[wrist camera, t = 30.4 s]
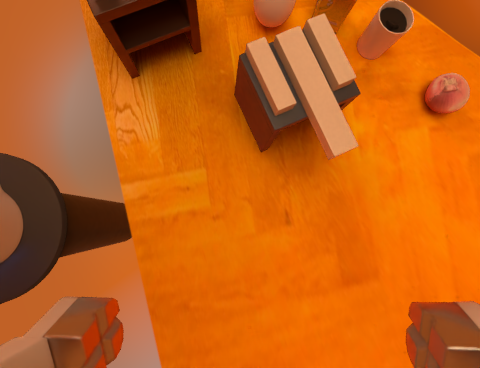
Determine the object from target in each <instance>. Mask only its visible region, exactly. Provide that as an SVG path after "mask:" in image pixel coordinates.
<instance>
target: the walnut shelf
mask: <svg viewBox="0 0 480 368" xmlns="http://www.w3.org/2000/svg"><path fill="white" fill-rule="evenodd" d="M87 2H88V4H89V6H90V8H91V11H92V13H93V15H94V17H95V19H96V20H97V22H98V24H99V25H100V27H101V29H102V30H103V32H104V33H105V35H106V37H107V38H108V40H109V42H110V43H111V45H112V46H113V48H114V50H115V51H116V53H117V55H118V56H119V58H120V59H121V61H122V63H123V64H124V66H125V68H126V69H127V71H128V72H129V74H130V76H131V77H132V79H133V78H135V77H138V76H140V75H139V73H138V70H137V68H136V66H135V64H134V61H133V59H132V57H131V55H130V53H131V52H134V51H137V50H139V49H142V48H144V47H147V46H150V45H152V44H155V43H157V42H160V41H163V40H165V39H168V38H171V37H173V36H176V35H178V34H181V33H185V35H186V37H187V39H188V42H189V44H190V46H191V48H192V50H193V52H194V54H196V53H199V52H201V42H200V32H199V22H198V12H197V2H196V0H87Z"/></svg>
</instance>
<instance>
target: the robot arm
mask: <svg viewBox="0 0 480 368" xmlns="http://www.w3.org/2000/svg"><path fill="white" fill-rule="evenodd" d="M22 232H23V218H22V214H21V211H20V209H19V207H18V205H17V204H16V202H15V201H14V200H13V199H12V198H11V197H10V196H9V195H8V194H6V193H5V192H4V191H3V190H2V188H1V185H0V263H1V262H3V261H4V260H6V259H7V258H8V257H9V256H10V255H11V254H12V253H13V252H14V250H15V249H16V248H17V246H18V244H19V242H20V239H21V237H22ZM118 312H119V306H118V301H117V300H116V299H114V298H96V297H95V298H94V297H64V298H61V299H60V300H59V301H58V302H57V303H56V304H55V305H54V306H53V307H52V308H51V309H50V310H49V311H48V312H47V313H46V314H45V315H44V316H43V317H42V318H41V319H40V320H39V321H38V322H37V323H36V324H35V325H34V326H33V327H32V328H31V329H30V330H29V331H28V332H27V333H26V334H25V335H24V336H23V337H16V338H14V339H12V340H10V341H8V342H6V343H4V344H2V345H0V368H106V365H108V364H109V363H111V362H112V361H113V360H115V359H116V357H117V355H118V353H119V352H120V350H121V346H122V342H123V325H122V323H121V322H120V320H119V319H118V318H116V315H117V314H118ZM408 315H409V317H410V319H411V320H412V322H413V323H412V324H411V325H410V326H409V327H408V328H407V331H406V345H407V352H408V355H409V358H410V360H411V362H412V364H413V366H414V368H480V304H478V303H476V302H474V301H469V302H412V303H411V305H410V307H409V314H408Z"/></svg>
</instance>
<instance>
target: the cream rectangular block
mask: <svg viewBox="0 0 480 368" xmlns="http://www.w3.org/2000/svg"><path fill="white" fill-rule="evenodd" d="M273 45H274V47H275V49H276V51H277V53H278V55H279V58H280V60H281V62H282V64H283V66H284V68H285V70H286V72H287V74H288V76H289V78H290V80H291V83H292V85H293V87H294V89H295V91H296V93H297V95H298V97H299V99H300V101H301V103H302V105H303V108H304V110H305V112H306V114H307V116H308V118H309V120H310V122H311V124H312V126H313V128H314V130H315V132H316V135H317V137H318V139H319V141H320V143H321V145H322V147H323V149H324V151H325V153H326V155H327V157H328V160H330V159H332V158H334V157H336V156H339V155H341V154H343V153H345V152H348V151H350V150H352V149H354V148H356V147H358V144H357V142H356V140H355V137H354V135H353V133H352V131H351V129H350V127H349V125H348V123H347V121H346V119H345V117H344V115H343V113H342V111H341V109H340V107H339V105H338V103H337V101H336V99H335V97H334V95H333V93H332V91H331V88H330V86H329V84H328V82H327V80H326V78H325V76H324V74H323V72H322V70H321V68H320V66H319V64H318V62H317V60H316V58H315V56H314V54H313V52H312V50H311V48H310V46H309V44H308V42H307V39H306V37H305V35H304V33H303V31H302V29H301V27H300V26H297V27H295V28H292V29H290V30H287V31H285V32H282V33H280V34H277V35H276V36H275V40H274V43H273Z"/></svg>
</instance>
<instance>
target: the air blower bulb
mask: <svg viewBox="0 0 480 368" xmlns="http://www.w3.org/2000/svg"><path fill="white" fill-rule="evenodd" d="M295 1H296V0H254V11H255V14H256V17H257V19H258V21H259V22H260V23H261V24H262V25H264V26H266V27H277V26H279V25H281V24H283V23H284V22H285V21H286V20H287V19H288V17H289V16H290V14H291V12H292V10H293V8H294V5H295Z"/></svg>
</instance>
